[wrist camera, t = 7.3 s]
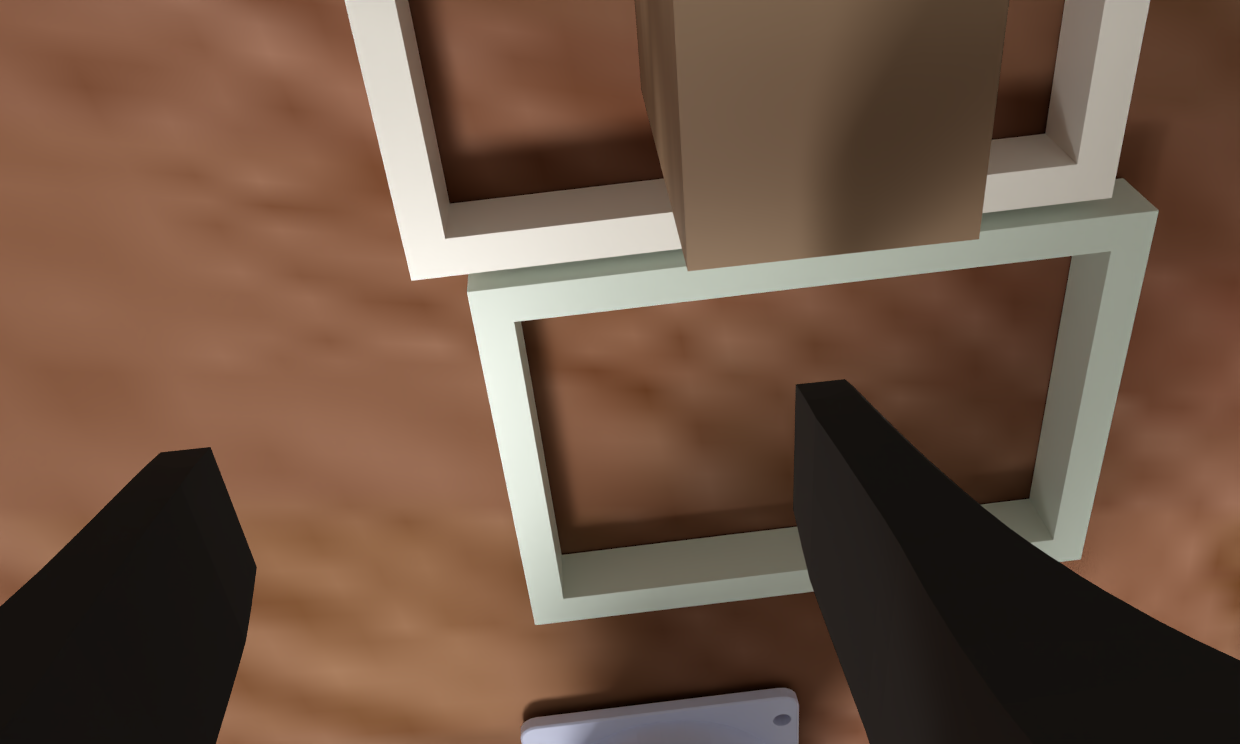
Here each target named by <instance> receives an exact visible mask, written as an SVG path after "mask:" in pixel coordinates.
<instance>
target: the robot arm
mask: <svg viewBox="0 0 1240 744" xmlns="http://www.w3.org/2000/svg"><path fill="white" fill-rule="evenodd" d="M793 510H794V515H795V519H796V524H797V528H798V532H799V537H800V541H801V546H802V550H803V554H804V558H805V562H806V566H807V571H808V575H809V579H810V582H811V585H812V587H813V590H814V593H815V596H816V599H817V601H818V604H819V607H820V609H821V612H822V615H823V618H824V620H825V623H826V626H827V629H828V631H829V634H830V637H831V639H832V642H833V645H834V647H835V650H836V653H837V655H838V658H839V661H840V664H841V666H842V669H843V672H844V674H845V677H846V680H847V682H848V685H849V688H850V690H851V693H852V696H853V698H854V701H855V704H856V706H857V709H858V712H859V714H860V717H861V720H862V723H863V725H864V728H865V731H866V733H867V737H868V740H869V743H870V744H1240V660H1238V659H1236V658H1233V657H1231V656H1229V655H1227V654H1225V653H1223V652H1221V651H1218V650H1216V649H1214V648H1212V647H1210V646H1208V645H1206V644H1203V643H1201V642H1199V641H1197V640H1195V639H1193V638H1191V637H1189V636H1187V635H1185V634H1183V633H1181V632H1179V631H1177V630H1175V629H1173V628H1171V627H1169V626H1167V625H1166V624H1164V623H1162V622H1160V621H1158V620H1156V619H1154V618H1152V617H1150V616H1149V615H1147V614H1145V613H1143V612H1142V611H1140V610H1138V609H1136V608H1134V607H1133V606H1131V605H1129V604H1127V603H1125V602H1124V601H1122V600H1120V599H1118V598H1117V597H1115V596H1113V595H1111V594H1109V593H1108V592H1106V591H1104V590H1103V589H1101V588H1099V587H1098V586H1096V585H1094V584H1093V583H1091V582H1089V581H1088V580H1086V579H1084V578H1083V577H1081V576H1079V575H1078V574H1076V573H1075V572H1073V571H1072V570H1070V569H1069V568H1067V567H1066V566H1064V565H1063V564H1061V563H1060V562H1058V561H1057V560H1055V559H1054V558H1052V557H1051V556H1049V555H1048V554H1046V553H1045V552H1043V551H1042V550H1040V549H1039V548H1037V547H1036V546H1034V545H1033V544H1031V543H1030V542H1028V541H1027V540H1026V539H1024V538H1023V537H1021V536H1020V535H1019V534H1017V533H1016V532H1014V531H1013V530H1012V529H1010V528H1009V527H1008V526H1006V525H1005V524H1004V523H1003V522H1001V521H1000V520H999V519H998V518H996V517H995V516H994V515H993V514H991V513H990V512H989V511H987V510H986V509H985V508H984V507H982V506H981V505H980V504H979V503H977V502H976V501H975V500H974V499H973V498H971V497H970V496H969V495H968V494H967V493H966V492H964V491H963V490H962V489H961V488H960V487H958V486H957V485H956V484H955V483H954V482H953V481H952V480H951V479H949V478H948V477H947V476H946V475H945V474H944V473H943V472H942V471H940V470H939V469H938V468H937V467H936V466H935V465H934V464H933V463H931V462H930V461H929V460H928V459H927V458H926V457H925V456H924V455H923V454H921V453H920V452H919V451H918V450H917V449H916V448H915V447H914V446H913V445H912V444H911V443H910V442H909V441H908V440H907V439H906V438H905V437H904V436H903V435H901V434H900V433H899V432H898V431H897V430H896V429H895V428H894V427H893V426H892V425H891V424H890V423H889V422H888V421H887V420H886V419H885V418H884V417H883V416H882V415H881V414H880V413H879V412H878V411H877V410H876V409H875V408H874V407H873V406H872V405H871V404H870V403H869V402H868V401H867V400H866V399H865V398H864V397H863V396H862V395H861V394H860V393H859V392H858V391H857V390H856V389H855V388H854V387H853V386H852V385H851V384H850V383H849V382H848V381H846V380H845V379H844V380H834V381H825V382H816V383H806V384H797V385H796V401H795V447H794V494H793ZM256 568H257V567H256V564H255V562H254V559H253V556H252V554H251V551H250V549H249V546H248V543H247V541H246V538H245V536H244V533H243V530H242V528H241V525H240V523H239V520H238V517H237V515H236V512H235V510H234V507H233V504H232V502H231V499H230V497H229V494H228V491H227V489H226V486H225V484H224V481H223V479H222V476H221V473H220V471H219V468H218V466H217V463H216V460H215V458H214V455H213V453H212V450H211V447H207V448H198V449H189V450H179V451H170V452H161V453H160V454H158V455H157V456H156V457H155V458H154V459H153V460H152V461H151V462H150V463H148V464H147V465H146V466H145V467H144V468H143V469H142V470H141V471H140V472H139V473H138V474H137V475H136V476H135V477H134V478H133V479H132V480H131V481H130V482H129V483H128V484H127V485H126V486H125V487H124V488H123V489H122V490H121V491H120V492H119V493H118V494H117V495H116V496H115V497H114V498H113V499H112V500H111V501H110V502H109V503H108V504H107V505H106V506H105V507H104V508H103V509H102V510H101V511H100V512H99V513H98V514H97V515H96V516H95V517H94V518H93V519H92V520H91V521H90V522H89V523H88V524H87V525H86V526H85V527H84V528H83V529H82V530H81V531H80V532H79V533H78V534H77V535H76V536H75V537H74V538H73V539H72V540H71V541H70V542H69V543H68V544H67V545H66V546H65V547H64V548H63V549H62V550H61V551H60V552H59V553H58V554H57V555H56V556H55V557H53V558H52V559H51V560H50V561H49V562H48V563H47V564H46V565H45V566H44V567H43V568H42V569H41V570H40V571H39V572H38V573H37V574H36V575H35V576H34V577H32V578H31V579H30V580H29V581H28V582H27V583H26V584H25V585H24V586H23V587H21V588H20V589H19V590H18V591H17V592H16V593H15V594H14V595H13V596H11V597H10V598H9V599H8V600H7V601H6V602H5V603H4V604H3V605H2V606H0V744H216V741H217V738H218V734H219V731H220V728H221V724H222V721H223V718H224V715H225V711H226V708H227V705H228V701H229V698H230V694H231V691H232V688H233V684H234V681H235V677H236V674H237V670H238V667H239V664H240V660H241V657H242V653H243V649H244V646H245V642H246V637H247V631H248V625H249V618H250V612H251V606H252V598H253V591H254V583H255V576H256ZM521 742H522V744H799V704H798V700H797V696H796V693H795V692H794V691H793V690H791V689H788V688H772V689H764V690H756V691H748V692H739V693H731V694H723V695H715V696H706V697H698V698H690V699H682V700H674V701H665V702H657V703H649V704H641V705H632V706H624V707H616V708H608V709H599V710H591V711H583V712H575V713H566V714H558V715H550V716H542V717H535V718H531V719H529V720H527V721H525V722H524V723H523V724H522V726H521Z"/></svg>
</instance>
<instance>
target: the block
mask: <svg viewBox="0 0 1240 744" xmlns="http://www.w3.org/2000/svg"><path fill="white" fill-rule="evenodd" d="M1008 6H1009V0H635V12H636V25H637V39H638V52H639V66H640V79H641V91H642V95H643V99H644V102H645V106H646V110H647V114H648V118H649V122H650V126H651V130H652V134H653V138H654V142H655V145H656V149H657V153H658V157H659V161H660V165H661V169H662V173H663V177H664V181H665V185H666V188H667V192H668V196H669V200H670V204H671V208H672V212H673V216H674V220H675V224H676V228H677V231H678V235H679V239H680V243H681V247H682V251H683V255H684V259H685V263H686V267H687V271H696V270H705V269H714V268H723V267H732V266H741V265H750V264H759V263H768V262H777V261H786V260H795V259H804V258H813V257H822V256H832V255H841V254H850V253H859V252H868V251H877V250H886V249H895V248H904V247H913V246H922V245H931V244H940V243H949V242H958V241H967V240H977V239H979V236H980V228H981V220H982V212H983V204H984V196H985V188H986V180H987V172H988V165H989V157H990V149H991V141H992V133H993V125H994V117H995V109H996V101H997V93H998V86H999V78H1000V70H1001V62H1002V54H1003V46H1004V38H1005V30H1006V22H1007V14H1008Z"/></svg>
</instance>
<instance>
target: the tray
mask: <svg viewBox="0 0 1240 744" xmlns="http://www.w3.org/2000/svg"><path fill="white" fill-rule="evenodd" d="M345 4H346V8H347V12H348V16H349V21H350V25H351V29H352V33H353V37H354V42H355V46H356V50H357V54H358V58H359V62H360V67H361V71H362V75H363V79H364V83H365V88H366V92H367V96H368V100H369V104H370V109H371V113H372V117H373V121H374V125H375V130H376V134H377V138H378V142H379V146H380V150H381V155H382V159H383V163H384V167H385V171H386V176H387V180H388V184H389V188H390V192H391V197H392V201H393V205H394V209H395V213H396V217H397V222H398V226H399V230H400V234H401V238H402V243H403V247H404V251H405V255H406V259H407V264H408V268H409V272H410V276H411V280H421V279H429V278H438V277H446V276H455V275H463V274H471V273H480V272H488V271H497V270H505V269H514V268H522V267H531V266H539V265H548V264H556V263H565V262H573V261H582V260H590V259H599V258H607V257H615V256H624V255H632V254H641V253H649V252H658V251H666V250H675V249H682V247H681V243H680V239H679V235H678V231H677V228H676V224H675V220H674V216H673V212H672V208H671V204H670V200H669V196H668V192H667V188H666V185H665V181H664V179H655V180H647V181H638V182H630V183H621V184H613V185H604V186H596V187H587V188H579V189H570V190H562V191H553V192H545V193H536V194H528V195H519V196H511V197H502V198H494V199H485V200H477V201H468V202H460V203H451V204H450V203H449V198H448V193H447V188H446V183H445V178H444V173H443V168H442V163H441V159H440V154H439V149H438V144H437V139H436V134H435V129H434V124H433V119H432V115H431V110H430V105H429V100H428V95H427V90H426V85H425V80H424V75H423V71H422V66H421V61H420V56H419V51H418V46H417V41H416V36H415V31H414V27H413V22H412V17H411V12H410V7H409V2H408V0H345ZM1149 4H1150V0H1065V4H1064V11H1063V17H1062V24H1061V31H1060V38H1059V44H1058V51H1057V58H1056V65H1055V71H1054V78H1053V85H1052V91H1051V98H1050V105H1049V112H1048V118H1047V125H1046V132H1045V134H1038V135H1030V136H1021V137H1013V138H1004V139H996V140H992V141H991V149H990V157H989V165H988V172H987V180H986V188H985V196H984V204H983V212H982V213H988V212H997V211H1005V210H1013V209H1022V208H1030V207H1039V206H1047V205H1056V204H1064V203H1073V202H1081V201H1090V200H1098V199H1107V198H1112V194H1113V189H1114V184H1115V179H1116V174H1117V168H1118V163H1119V158H1120V153H1121V148H1122V143H1123V138H1124V132H1125V127H1126V122H1127V117H1128V112H1129V107H1130V101H1131V96H1132V91H1133V86H1134V81H1135V76H1136V71H1137V65H1138V60H1139V55H1140V50H1141V45H1142V40H1143V35H1144V29H1145V24H1146V19H1147V14H1148V9H1149Z"/></svg>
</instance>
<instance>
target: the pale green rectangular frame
mask: <svg viewBox="0 0 1240 744" xmlns="http://www.w3.org/2000/svg"><path fill="white" fill-rule="evenodd" d="M1158 212H1159V210H1158V209H1157V208H1156V207H1154V206H1153V205H1152V204H1151V203H1150V202H1149V201H1148V200H1147V199H1146V198H1144V197H1143V196H1142V195H1141V194H1140V193H1139V192H1138V191H1137V190H1136V189H1135V188H1133V187H1132V186H1131V185H1130V184H1129V183H1128V182H1127V181H1126V180H1125V179H1124V178H1120V179H1115V184H1114V189H1113V194H1112V198H1107V199H1098V200H1090V201H1081V202H1073V203H1064V204H1056V205H1047V206H1039V207H1030V208H1022V209H1013V210H1005V211H997V212H988V213H982V220H981V228H980V236H979V239H977V240H967V241H958V242H949V243H940V244H931V245H922V246H913V247H904V248H895V249H886V250H877V251H868V252H859V253H850V254H841V255H832V256H822V257H813V258H804V259H795V260H786V261H777V262H768V263H759V264H750V265H741V266H732V267H723V268H714V269H705V270H696V271H687V267H686V263H685V259H684V255H683V251H682V249H675V250H666V251H658V252H649V253H641V254H632V255H624V256H615V257H607V258H599V259H590V260H582V261H573V262H565V263H556V264H548V265H539V266H531V267H522V268H514V269H505V270H497V271H488V272H480V273H471V274H468V286H467V295H468V300H469V305H470V310H471V314H472V319H473V324H474V329H475V334H476V339H477V344H478V349H479V353H480V358H481V363H482V368H483V373H484V378H485V383H486V388H487V392H488V397H489V402H490V407H491V412H492V417H493V422H494V427H495V431H496V436H497V441H498V446H499V451H500V456H501V461H502V466H503V470H504V475H505V480H506V485H507V490H508V495H509V500H510V505H511V509H512V514H513V519H514V524H515V529H516V534H517V539H518V544H519V548H520V553H521V558H522V563H523V568H524V573H525V578H526V583H527V587H528V592H529V597H530V602H531V607H532V612H533V617H534V622H535V625H541V624H549V623H558V622H566V621H574V620H582V619H591V618H599V617H607V616H616V615H624V614H632V613H640V612H649V611H657V610H665V609H674V608H682V607H690V606H698V605H707V604H715V603H723V602H732V601H740V600H748V599H756V598H765V597H773V596H781V595H789V594H798V593H806V592H814V590H813V587H812V585H811V582H810V579H809V575H808V571H807V566H806V562H805V558H804V554H803V550H802V546H801V541H800V537H799V532H798V528H797V527H790V528H781V529H773V530H765V531H756V532H748V533H740V534H731V535H723V536H715V537H706V538H698V539H690V540H681V541H673V542H665V543H656V544H648V545H640V546H632V547H623V548H615V549H607V550H598V551H590V552H582V553H573V554H565V555H562V554H561V548H560V543H559V537H558V531H557V525H556V520H555V514H554V508H553V502H552V497H551V491H550V485H549V479H548V474H547V468H546V462H545V456H544V451H543V445H542V439H541V433H540V427H539V422H538V416H537V410H536V404H535V399H534V393H533V387H532V381H531V376H530V370H529V364H528V358H527V353H526V347H525V341H524V335H523V330H522V324H521V321H526V320H535V319H543V318H552V317H560V316H569V315H577V314H586V313H594V312H602V311H611V310H619V309H628V308H636V307H645V306H653V305H662V304H670V303H678V302H687V301H695V300H704V299H712V298H721V297H729V296H738V295H746V294H754V293H763V292H771V291H780V290H788V289H797V288H805V287H813V286H822V285H830V284H839V283H847V282H856V281H864V280H873V279H881V278H889V277H898V276H906V275H915V274H923V273H932V272H940V271H949V270H957V269H965V268H974V267H982V266H991V265H999V264H1008V263H1016V262H1024V261H1033V260H1041V259H1050V258H1058V257H1067V256H1072V259H1071V265H1070V270H1069V276H1068V282H1067V287H1066V293H1065V299H1064V304H1063V310H1062V316H1061V321H1060V327H1059V333H1058V338H1057V344H1056V350H1055V355H1054V361H1053V367H1052V372H1051V378H1050V384H1049V389H1048V395H1047V401H1046V406H1045V412H1044V418H1043V423H1042V429H1041V435H1040V440H1039V446H1038V452H1037V457H1036V463H1035V469H1034V474H1033V480H1032V486H1031V491H1030V497H1029V499H1022V500H1014V501H1006V502H997V503H989V504H981V506H982V507H984V508H985V509H986V510H987V511H989V512H990V513H991V514H993V515H994V516H995V517H996V518H998V519H999V520H1000V521H1001V522H1003V523H1004V524H1005V525H1006V526H1008V527H1009V528H1010V529H1012V530H1013V531H1014V532H1016V533H1017V534H1019V535H1020V536H1021V537H1023V538H1024V539H1026V540H1027V541H1028V542H1030V543H1031V544H1033V545H1034V546H1036V547H1037V548H1039V549H1040V550H1042V551H1043V552H1045V553H1046V554H1048V555H1049V556H1051V557H1052V558H1054V559H1055V560H1057V561H1058V562H1063V561H1071V560H1079V559H1081V555H1082V551H1083V546H1084V542H1085V538H1086V533H1087V529H1088V524H1089V520H1090V515H1091V511H1092V506H1093V502H1094V497H1095V493H1096V488H1097V484H1098V480H1099V475H1100V471H1101V466H1102V462H1103V457H1104V453H1105V448H1106V444H1107V439H1108V435H1109V430H1110V426H1111V422H1112V417H1113V413H1114V408H1115V404H1116V399H1117V395H1118V390H1119V386H1120V381H1121V377H1122V372H1123V368H1124V364H1125V359H1126V355H1127V350H1128V346H1129V341H1130V337H1131V332H1132V328H1133V323H1134V319H1135V314H1136V310H1137V306H1138V301H1139V297H1140V292H1141V288H1142V283H1143V279H1144V274H1145V270H1146V265H1147V261H1148V256H1149V252H1150V248H1151V243H1152V239H1153V234H1154V230H1155V225H1156V221H1157V216H1158Z"/></svg>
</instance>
